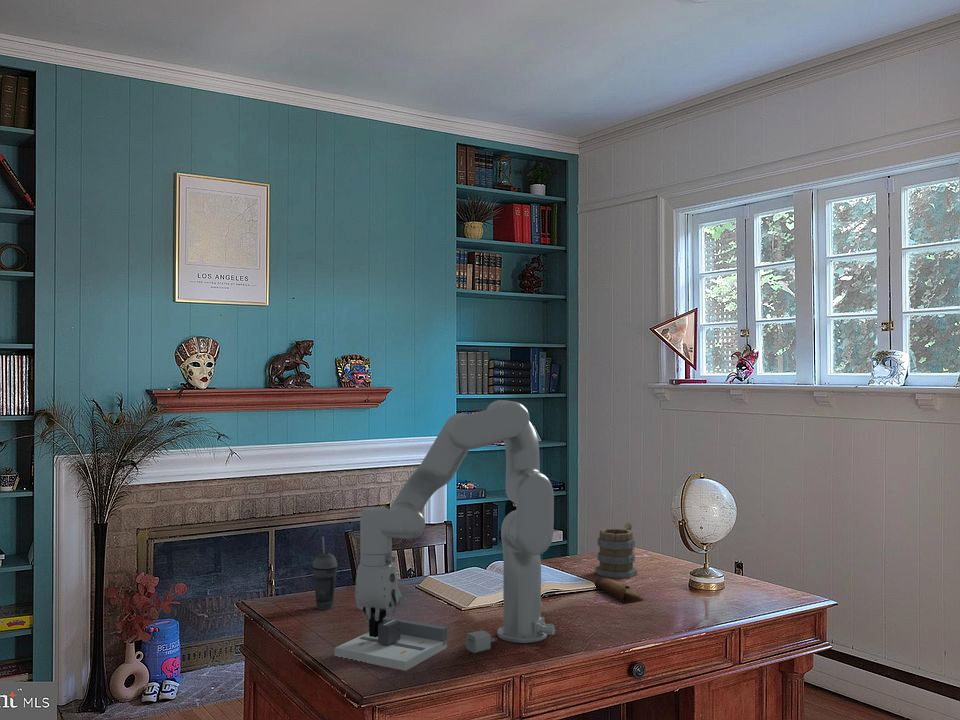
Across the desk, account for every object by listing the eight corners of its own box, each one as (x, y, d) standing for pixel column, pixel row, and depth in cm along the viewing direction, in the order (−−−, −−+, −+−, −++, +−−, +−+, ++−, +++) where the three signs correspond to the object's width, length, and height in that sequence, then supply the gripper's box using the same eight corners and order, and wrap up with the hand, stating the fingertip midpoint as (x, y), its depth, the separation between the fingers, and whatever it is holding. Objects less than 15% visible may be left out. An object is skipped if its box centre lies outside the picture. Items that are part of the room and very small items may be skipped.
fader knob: (400, 639, 203) (400, 620, 203) (388, 645, 198) (388, 625, 198) (390, 637, 204) (390, 618, 204) (378, 643, 200) (378, 624, 200)
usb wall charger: (466, 649, 203) (466, 632, 203) (489, 644, 207) (489, 627, 207) (475, 653, 200) (475, 636, 200) (499, 648, 204) (499, 631, 204)
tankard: (626, 580, 270) (626, 533, 271) (590, 574, 277) (590, 529, 277) (649, 568, 287) (649, 523, 287) (615, 563, 294) (615, 520, 294)
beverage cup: (320, 613, 233) (320, 540, 234) (307, 607, 239) (307, 536, 239) (342, 608, 238) (343, 537, 238) (329, 602, 244) (329, 533, 244)
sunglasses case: (648, 600, 246) (638, 581, 245) (631, 614, 244) (620, 596, 243) (617, 585, 263) (608, 568, 262) (600, 599, 261) (590, 581, 260)
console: (447, 647, 204) (447, 626, 204) (405, 670, 188) (405, 648, 188) (379, 635, 214) (379, 615, 214) (334, 656, 198) (334, 634, 198)
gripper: (410, 559, 203) (410, 636, 203) (360, 553, 210) (360, 626, 210) (392, 565, 197) (392, 644, 196) (341, 559, 204) (341, 635, 204)
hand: (375, 635), depth 203 cm, fingers closed
